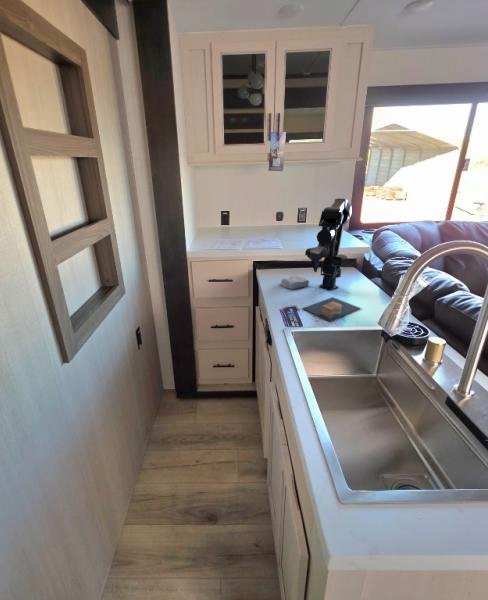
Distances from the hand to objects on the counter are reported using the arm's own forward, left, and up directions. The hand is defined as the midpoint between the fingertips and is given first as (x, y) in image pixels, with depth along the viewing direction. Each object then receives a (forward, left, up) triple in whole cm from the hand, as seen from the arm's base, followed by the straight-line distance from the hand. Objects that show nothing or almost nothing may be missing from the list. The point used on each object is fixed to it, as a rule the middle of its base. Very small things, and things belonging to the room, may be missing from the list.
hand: (323, 274), depth 137 cm
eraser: (+9, +12, -12) cm, 19 cm away
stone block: (-4, -20, -12) cm, 24 cm away
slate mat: (+4, +9, -12) cm, 16 cm away
